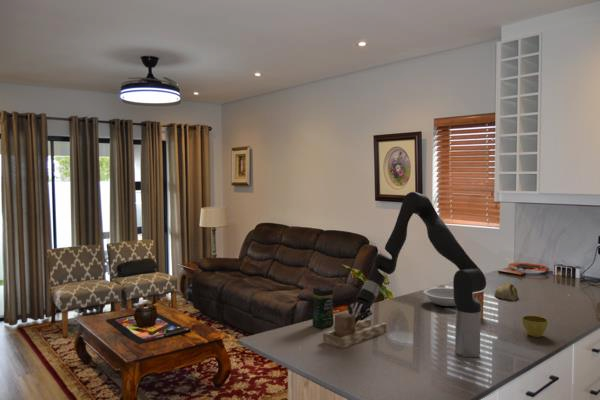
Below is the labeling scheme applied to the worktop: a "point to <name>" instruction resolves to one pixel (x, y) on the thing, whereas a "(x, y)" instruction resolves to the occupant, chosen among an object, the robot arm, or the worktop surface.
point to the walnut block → (344, 324)
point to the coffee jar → (323, 306)
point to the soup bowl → (441, 296)
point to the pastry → (507, 292)
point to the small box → (479, 299)
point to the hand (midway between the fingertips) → (350, 326)
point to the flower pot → (534, 325)
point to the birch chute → (355, 334)
